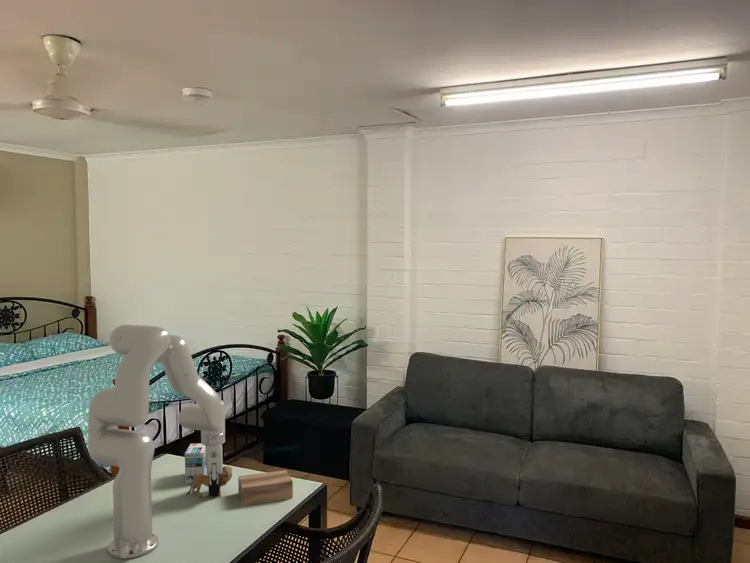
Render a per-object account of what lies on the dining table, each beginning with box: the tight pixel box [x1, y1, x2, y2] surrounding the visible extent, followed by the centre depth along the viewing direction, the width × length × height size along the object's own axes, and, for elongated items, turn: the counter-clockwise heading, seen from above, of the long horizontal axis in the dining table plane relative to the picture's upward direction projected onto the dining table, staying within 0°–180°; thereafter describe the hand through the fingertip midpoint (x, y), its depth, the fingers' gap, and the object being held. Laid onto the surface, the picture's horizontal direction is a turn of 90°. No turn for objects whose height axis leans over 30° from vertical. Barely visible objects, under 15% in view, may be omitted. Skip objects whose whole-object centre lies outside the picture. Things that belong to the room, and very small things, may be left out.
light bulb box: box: [184, 443, 207, 485], centre depth 207 cm, size 11×7×11 cm, turn 7°
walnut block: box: [237, 469, 294, 506], centre depth 192 cm, size 10×16×6 cm, turn 110°
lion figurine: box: [185, 465, 233, 498], centre depth 193 cm, size 15×5×9 cm, turn 104°
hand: (213, 492), depth 193 cm, fingers closed on lion figurine, 4 cm apart
